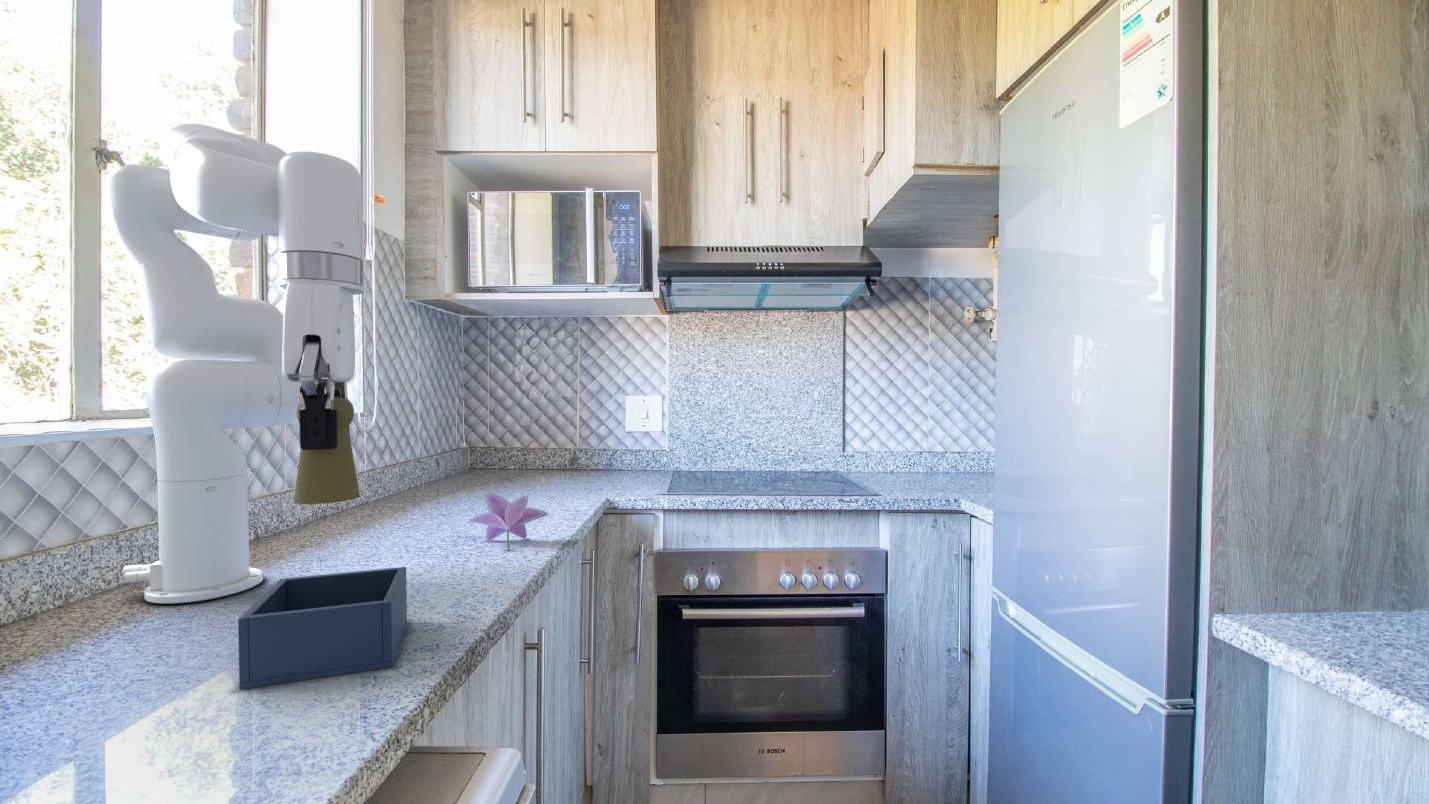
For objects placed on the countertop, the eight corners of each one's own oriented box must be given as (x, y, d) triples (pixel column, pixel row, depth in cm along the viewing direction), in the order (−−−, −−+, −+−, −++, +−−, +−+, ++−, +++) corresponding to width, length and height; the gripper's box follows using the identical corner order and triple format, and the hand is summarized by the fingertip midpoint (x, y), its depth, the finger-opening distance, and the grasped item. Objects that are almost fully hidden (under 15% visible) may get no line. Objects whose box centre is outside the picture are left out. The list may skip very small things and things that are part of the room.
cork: (281, 501, 64) (278, 396, 64) (339, 492, 69) (337, 395, 69) (314, 506, 61) (312, 397, 61) (372, 496, 66) (370, 396, 66)
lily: (557, 547, 110) (550, 497, 113) (526, 536, 99) (519, 481, 103) (497, 565, 111) (492, 515, 115) (459, 557, 100) (455, 502, 104)
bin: (239, 689, 56) (237, 619, 56) (281, 637, 68) (280, 578, 68) (392, 667, 61) (391, 601, 60) (407, 621, 72) (406, 566, 72)
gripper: (303, 287, 71) (306, 441, 72) (252, 257, 55) (256, 456, 56) (376, 290, 74) (378, 439, 74) (346, 263, 58) (350, 453, 58)
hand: (326, 444), depth 65 cm, fingers closed on cork, 5 cm apart
